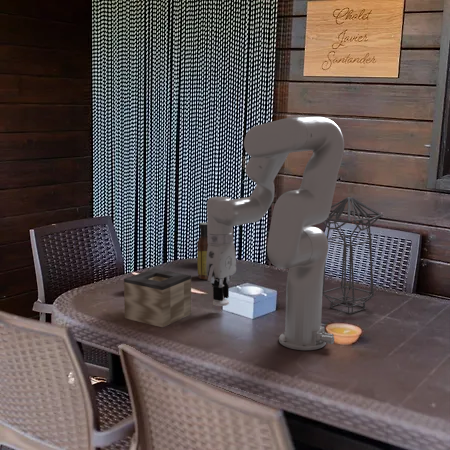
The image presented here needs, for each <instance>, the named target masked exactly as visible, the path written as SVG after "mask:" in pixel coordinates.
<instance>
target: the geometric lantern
mask: <svg viewBox="0 0 450 450" xmlns="http://www.w3.org/2000/svg"><path fill="white" fill-rule="evenodd" d="M346 205H347V209H345V208H346ZM334 207H335V208H334ZM351 207H352V209H351ZM333 208H334V209H333ZM364 208H365V209H367V210H369V212H372V213H368V212H367V211H366V210H365V209H364ZM331 209H333V210H332V211H330V214H329V216H328V218H327V219H326V220H325V221H324V222H322V224H323V225H324V226H325V227H326V228H327V233H326V237H327V240H328V243H332V244H338V245H343V247H342V248H343V251H342V263H341V264H342V266H341V267H342V268H341V280H340V286H337V287H334V288H331V289H327V290H325V283H326V281H325V278H326V266H327V265H326V264H327V261H326V262H325V267H324V275H323V292H322V297H325V298H326V299H327V301H329V302H330V303H329V304H330V306H329V307H330V308H331V309H333V310H335V311H336V310H337V311H340V312H341V313H342V312H343V313H346V314H350V315H351V314H355V313H358V312H360V311H363V310H366V309H367V308H366V303H367V302H369V301H370V300H371V299H373V298H374V297H375V289H374V273H373V254H372V253H373V249H372V248H373V247H372V246H373V245H372V243H373V242H372V241H373V239H372V234H371V226H372V225H374V224H375V223H376V222H377V221H378V220H379V219H380V218H381V217H383V216H384V215H383V213H380V212H379V211H377V210H375V209H374V208H372V207H370V206H368V205H367V204H365V203H363V202H362V201H360V200H358V199H356V198H354V197H353V196H352V197H349V196H348V197H345V198H344V199H341V200H340V201H338V202H337V203H334V204H332V205H331ZM345 211H347V219H340V217H341V216H342V214H343V212H345ZM351 215H352V216H353V218H354V219H352V220H351ZM371 216H373V217H371ZM333 217H335V219H334V218H333ZM364 221H365V222H364ZM366 221H367V222H366ZM339 222H340V223H341V224H340V225H339ZM349 222H350V223H351V222H352V223H353V224H355V228H354V230H352V232H351V233H350V235H346V234H345V232H344V230H343V229H342V228H341V227H343V226H344V225H346V224H348V223H349ZM357 222H358V223H357ZM331 224H334V227H331ZM360 224H361V226H360ZM364 225H365V226H364ZM357 229H359V230H358V232H357V233H356V235H354V234H355V232H356V230H357ZM331 230H337V233H338V236H334V237H329V235H330V231H331ZM365 230H366V231H367V236H368V238H367V237H361V236H359V234H360V232H361V231H365ZM341 232H342V233H341ZM338 238H339V239H340V238H341V239H342V242H343V243H342V242H341V243H340V242H336V241H334V239H338ZM346 238H349V243H347V242H346V240H347V239H346ZM352 238H353V240H352ZM356 238H357V239H362V240H367V241H364V242H358V243H354V242H355V240H356ZM332 240H333V241H332ZM353 243H354V244H353ZM364 244H368V247H369V248H368V249H369V263H370V264H369V265H370V271H369V272H370V291H369V290H365V289H361V288H357V287H355V280H354V276H355V275H354V252H353V249H354V248H353V247H354V246H358V245H364ZM347 247H349V267H348V268H349V272H348V276H349V279H348V280H349V281H348V283H349V284H348V285H349V286H348V285H347V283H346V282H347ZM346 285H347V286H346ZM339 289H341V292H342V296H339V297H335V296H331V295H327V294H326V293H328V292H332V291H335V290H339ZM347 289H348V291H346V290H347ZM355 290H356V291H359V292H364V293H367V294H368V295H367V296H363V297H360V298H356V297H355ZM350 291H352V292H351V293H352V296H351V297H350V296H349V294H350ZM346 292H347V294H346ZM331 299H332V300H331ZM348 299H351V300H348ZM335 301H339V302H335ZM358 301H361V302H359V303H356V302H358ZM349 305H350V306H349ZM336 306H343V307H345V308H347V311H345V310H342V309H339V308H336ZM354 307H360V309H357V310H355V311H354ZM350 308H351V312H350Z"/></svg>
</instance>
